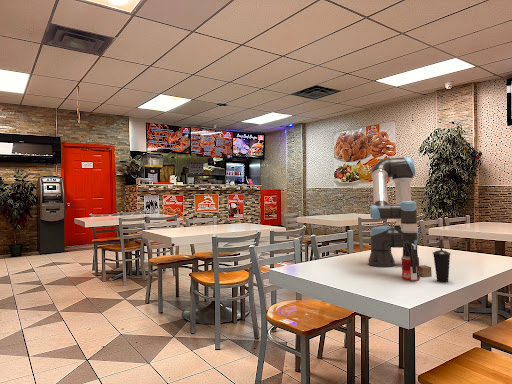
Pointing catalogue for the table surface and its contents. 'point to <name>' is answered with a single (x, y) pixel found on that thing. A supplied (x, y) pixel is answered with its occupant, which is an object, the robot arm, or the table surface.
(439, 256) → the drinking cup
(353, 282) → the table surface
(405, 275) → the canned food
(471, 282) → the table surface
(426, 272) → the walnut block
